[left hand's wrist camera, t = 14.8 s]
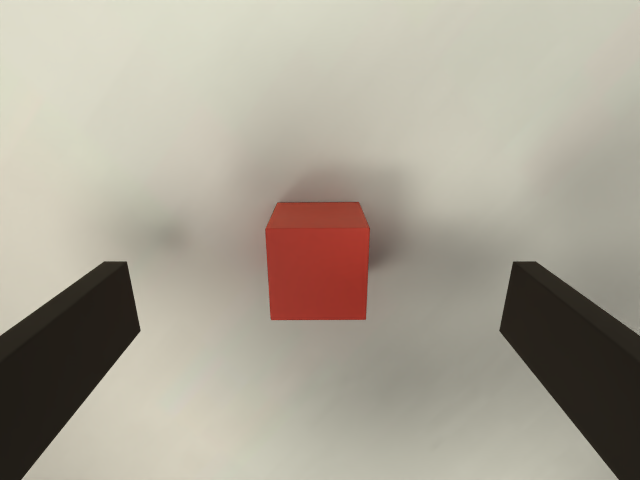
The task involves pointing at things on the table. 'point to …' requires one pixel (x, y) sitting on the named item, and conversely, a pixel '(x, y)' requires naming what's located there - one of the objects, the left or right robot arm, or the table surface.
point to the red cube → (318, 261)
